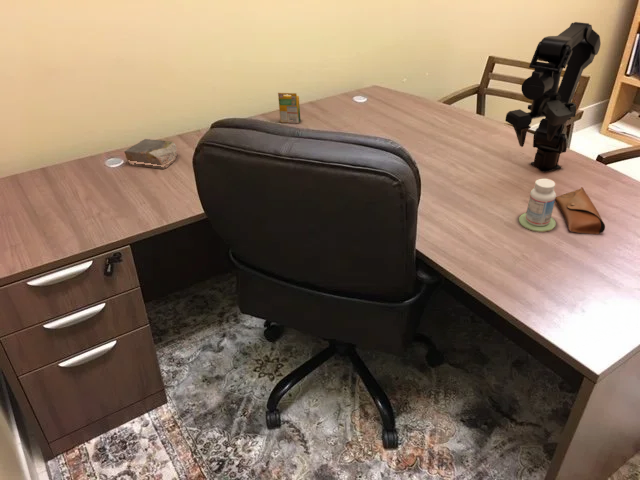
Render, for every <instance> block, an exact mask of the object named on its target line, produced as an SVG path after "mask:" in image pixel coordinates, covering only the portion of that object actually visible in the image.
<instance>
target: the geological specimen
mask: <svg viewBox="0 0 640 480" xmlns="http://www.w3.org/2000/svg"><path fill="white" fill-rule="evenodd" d="M123 152H124V154H125V158H126V160H127V161H128V160H130V161H137V162H144V163H151V164H157V165H164V164H166V163H168V162H169V161H171V160H172V159H173V158H174V157H175V159H173V161H171V162H170V163H169V164H166V165H165V166H164V167H161V166H153V165H145V164H136V163H134V165H131V166H133V167H144V168H154V169H159V170H160V169H161V170H165V169H167V168H169V167H170V165H172V164H174V162H176V158H178V153H177V144H176V143H175V141H172V140H160V139H151V138H144V139H142V140H140V141H139V142H137V143H136V144H134V145H132V146H130V147H129V148H127V149H126V150H125V149H124V151H123ZM175 155H176V156H175ZM135 165H136V166H135Z"/></svg>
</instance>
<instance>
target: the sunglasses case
mask: <svg viewBox="0 0 640 480" xmlns="http://www.w3.org/2000/svg"><path fill="white" fill-rule="evenodd" d="M555 203H556V204H557V206H558V208H559V210H560V212H561V213H562V215H563V218H564V220H565V223H566V225H567V229H568V231H570V232H572V233H577V234H585V235H586V234H588V235H599V234H602V233H604V232H605V230H606V224H605V222H604V221H603V219H602V217H601V214H600V213H599V211H598V210H597V208H596V206H595V204H594V203H593V201H592V200H591V198H590V197H589V195H588V194H587V192H586V191H585V189H584V187H582V186H581V187H580V188H579V189H576V190H573V191H570V192H566V193H563V194H561V195H559V196H556V197H555Z"/></svg>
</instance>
